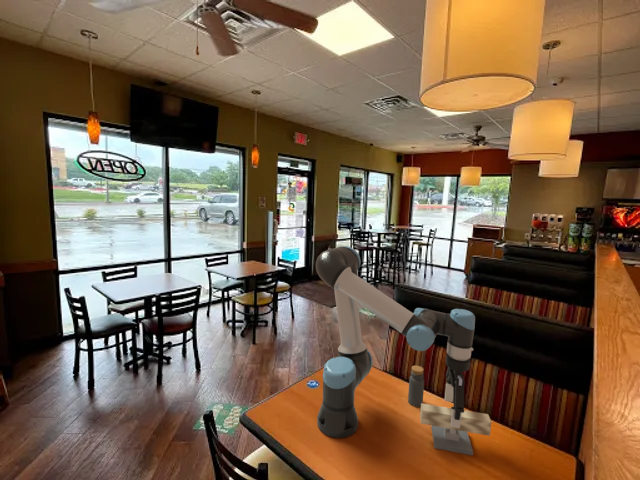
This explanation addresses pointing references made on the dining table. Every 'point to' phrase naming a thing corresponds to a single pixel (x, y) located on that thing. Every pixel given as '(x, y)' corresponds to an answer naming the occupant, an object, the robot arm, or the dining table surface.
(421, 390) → the bottle
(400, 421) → the dining table surface
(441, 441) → the fulcrum
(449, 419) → the beam
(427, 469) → the dining table surface
